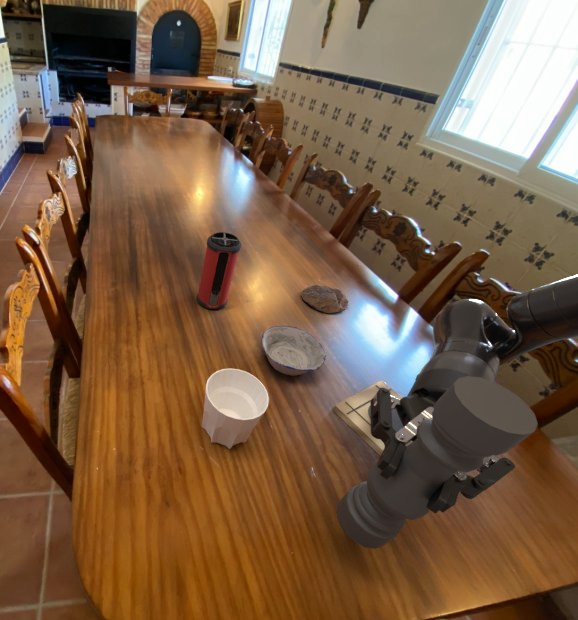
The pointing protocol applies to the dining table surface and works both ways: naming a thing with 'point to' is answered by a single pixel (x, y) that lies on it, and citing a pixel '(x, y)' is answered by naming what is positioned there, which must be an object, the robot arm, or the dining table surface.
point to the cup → (233, 406)
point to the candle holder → (436, 458)
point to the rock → (325, 298)
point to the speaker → (218, 270)
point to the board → (366, 414)
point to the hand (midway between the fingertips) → (411, 489)
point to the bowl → (292, 350)
